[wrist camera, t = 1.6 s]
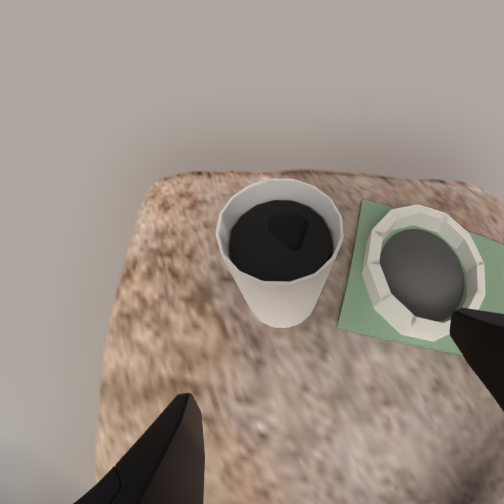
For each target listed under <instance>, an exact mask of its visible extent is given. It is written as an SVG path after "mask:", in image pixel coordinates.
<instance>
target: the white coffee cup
mask: <svg viewBox="0 0 504 504" xmlns="http://www.w3.org/2000/svg"><path fill="white" fill-rule="evenodd" d="M215 234H216V238H217V241H218V245H219V249H220V252H221V255H222V257H223V259H224V261H225V263H226V265H227V267H228V269H229V270H230V272H231V274H232V276H233V278H234V280H235V282H236V284H237V285H238V287H239V289H240V291H241V293H242V295H243V297H244V298H245V300H246V302H247V304H248V306H249V308H250V310H251V311H252V313H253V314H254V315H255V316H256V317H257V318H258V319H259V321H260V322H262V323H265V324H267V325H269V326H271V327H274V328H289V327H292V326H295V325H298V324H301V323H302V322H303V321H304V320H305V319H306V318H307V317H309V316H310V315H311V313H312V311H313V309H314V307H315V305H316V303H317V300H318V298H319V296H320V293H321V291H322V289H323V287H324V284H325V282H326V280H327V277H328V275H329V273H330V270H331V268H332V266H333V263H334V261H335V259H336V256H337V254H338V251H339V249H340V246H341V244H342V241H343V239H344V234H343V222H342V216H341V214H340V213H339V211H338V209H337V207H336V206H335V204H334V202H333V201H332V199H331V198H330V197H328V196H327V195H326V194H324V193H323V192H322V191H321V190H319V189H318V188H317V187H315V186H313V185H310V184H307V183H304V182H301V181H298V180H295V179H273V178H271V179H267V180H264V181H260V182H257V183H253V184H250V185H248V186H247V187H245V188H244V189H242V190H241V191H239V192H238V193H236V194H235V195H233V196H232V197H231V198H230V200H229V201H228V202H227V204H226V205H225V207H224V208H223V209H222V211H221V212H220V214H219V219H218V224H217V228H216V233H215Z"/></svg>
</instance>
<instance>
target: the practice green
mask: <svg viewBox="0 0 504 504" xmlns="http://www.w3.org/2000/svg"><path fill="white" fill-rule="evenodd" d="M461 307H463V308H469V309H475V310H482V311H488V312H494V313H501V314H504V245H503V244H501V243H498V242H495V241H493V240H490V239H488V238H485V237H482V236H480V235H477V234H474V233H471V232H469V231H466V230H465V229H464V228H462V227H461V226H460V225H459V224H458V223H457V222H456V221H455V220H453V219H452V218H451V217H450V216H449V215H448V214H446V213H444V212H441V211H438V210H435V209H432V208H429V207H425V206H422V205H419V204H417V205H412V206H406V207H401V208H393V207H390V206H386V205H383V204H379V203H375V202H372V201H368V200H364V199H362V202H361V209H360V216H359V222H358V228H357V234H356V240H355V246H354V251H353V256H352V261H351V266H350V271H349V276H348V281H347V285H346V290H345V294H344V299H343V303H342V307H341V311H340V315H339V319H338V323H337V327H336V328H340V329H344V330H348V331H352V332H356V333H360V334H365V335H369V336H373V337H377V338H381V339H386V340H390V341H395V342H399V343H404V344H408V345H413V346H418V347H422V348H427V349H432V350H437V351H442V352H448V353H453V354H458V355H462V353H461V352H460V350H459V349H458V347H457V346H456V344H455V343H454V341H453V340H452V338H451V336H450V333H449V330H450V322H451V314H452V312H453V311H455V310H457V309H459V308H461Z"/></svg>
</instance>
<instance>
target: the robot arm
mask: <svg viewBox="0 0 504 504" xmlns="http://www.w3.org/2000/svg"><path fill="white" fill-rule="evenodd" d="M449 333H450V336H451V338H452V340H453V341H454V343H455V344H456V346H457V347H458V349H459V350H460V352H461V353H462V355H463V356H464V358H465V359H466V361H467V362H468V364H469V365H470V367H471V368H472V370H473V371H474V372H475V373H476V375H477V376H478V377H479V379H480V380H481V381H482V382H483V384H484V385H485V386H486V388H487V389H488V390H489V392H490V393H491V395H492V396H493V397H494V399H495V400H496V401H497V403H498V404H499V406H500V407H501V408H502V410H503V411H504V314H501V313H494V312H488V311H482V310H475V309H469V308H463V307H461V308H459V309H457V310H455V311H453V312H452V314H451V322H450V330H449ZM115 466H116V467H115ZM115 466H114V467H113V468H112V469H111V470H110V471H109V472H108V473H107V474H106V475H105V476H104V477H103V478H102V479H101V480H100V481H99V482H98V483H97V484H96V485H95V486H94V487H93V488H92V489H90V490H89V491H88V492H87V493H86V494H85V495H83V496H82V497H81V498H80V499H79V500H77V501H76V502H75V503H74V504H203V496H204V468H205V451H204V439H203V426H202V415H201V411H200V409H199V407H198V405H197V403H196V401H195V399H194V397H193V395H192V394H191V393H183V394H178V395H177V396H176V397H175V398H174V399H173V400H172V402H171V403H170V404H169V405H168V406H167V407H166V409H165V410H164V411H163V412H162V413H161V414H160V415H159V417H158V418H157V419H156V420H155V421H154V422H153V423H152V425H151V426H150V427H149V428H148V429H147V430H146V431H145V433H144V434H143V435H142V436H141V437H140V438H139V439H138V440H137V442H136V443H135V444H134V445H133V446H132V447H131V448H130V449H129V450H128V452H127V453H126V454H125V455H124V456H123V457H122V458H121V459H120V460H119V461H118V462H117V464H116V465H115Z"/></svg>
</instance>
